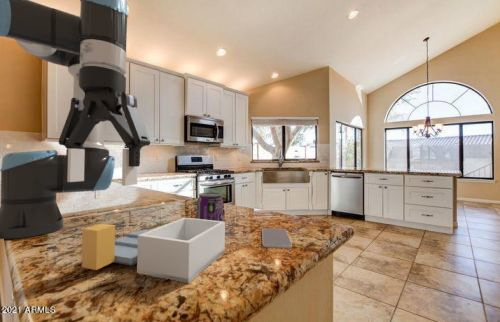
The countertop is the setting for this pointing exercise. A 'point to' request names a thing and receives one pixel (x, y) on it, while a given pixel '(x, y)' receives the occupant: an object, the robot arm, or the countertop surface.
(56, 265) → the countertop surface
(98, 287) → the countertop surface
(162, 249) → the tub
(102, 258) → the lid
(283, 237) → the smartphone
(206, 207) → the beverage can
